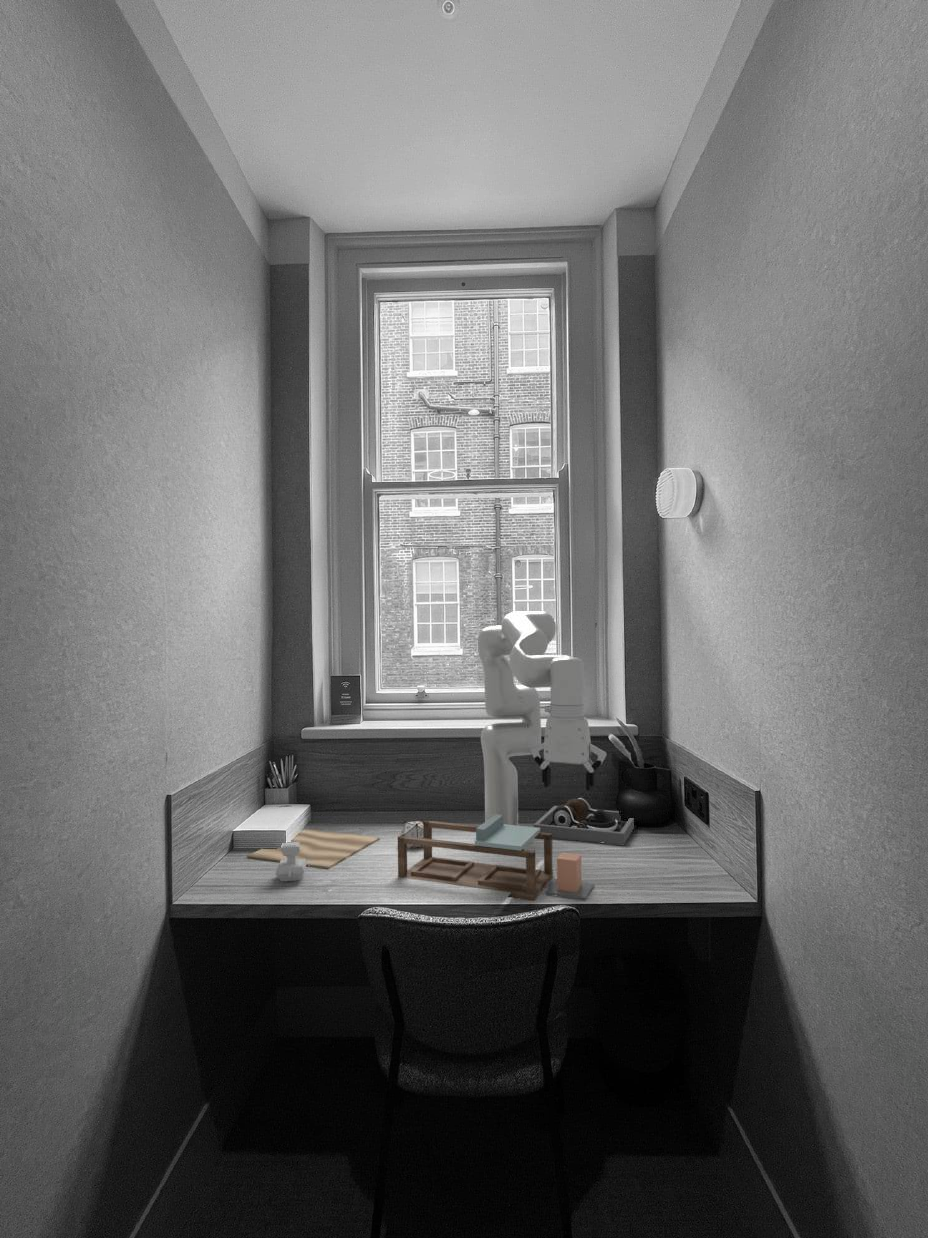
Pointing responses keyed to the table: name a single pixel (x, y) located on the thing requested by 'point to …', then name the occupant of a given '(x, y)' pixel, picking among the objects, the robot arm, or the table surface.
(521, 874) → the frame
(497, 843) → the lid
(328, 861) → the cork mat
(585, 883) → the coaster
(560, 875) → the block
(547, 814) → the tray rim
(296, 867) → the stamp
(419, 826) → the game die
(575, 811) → the headset
